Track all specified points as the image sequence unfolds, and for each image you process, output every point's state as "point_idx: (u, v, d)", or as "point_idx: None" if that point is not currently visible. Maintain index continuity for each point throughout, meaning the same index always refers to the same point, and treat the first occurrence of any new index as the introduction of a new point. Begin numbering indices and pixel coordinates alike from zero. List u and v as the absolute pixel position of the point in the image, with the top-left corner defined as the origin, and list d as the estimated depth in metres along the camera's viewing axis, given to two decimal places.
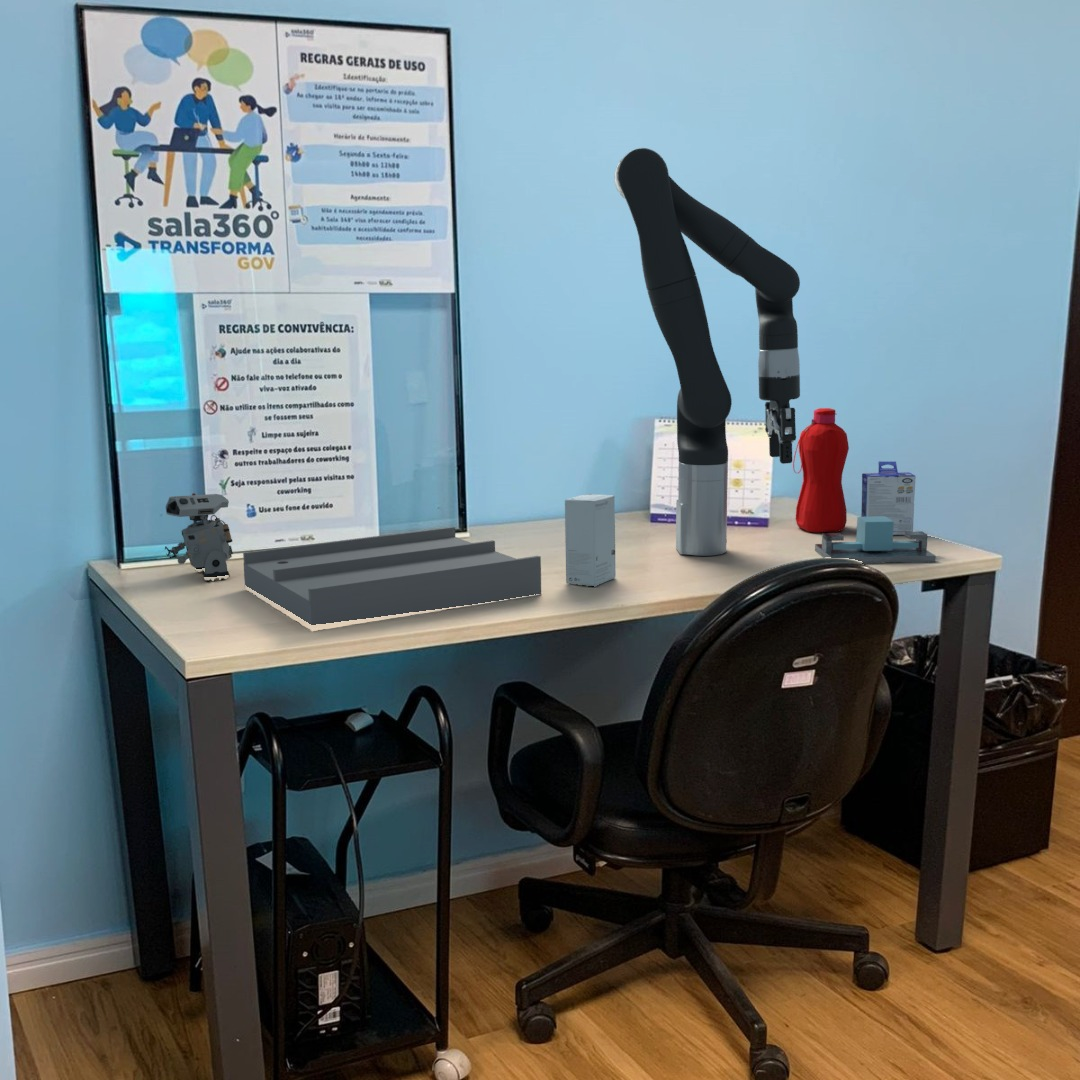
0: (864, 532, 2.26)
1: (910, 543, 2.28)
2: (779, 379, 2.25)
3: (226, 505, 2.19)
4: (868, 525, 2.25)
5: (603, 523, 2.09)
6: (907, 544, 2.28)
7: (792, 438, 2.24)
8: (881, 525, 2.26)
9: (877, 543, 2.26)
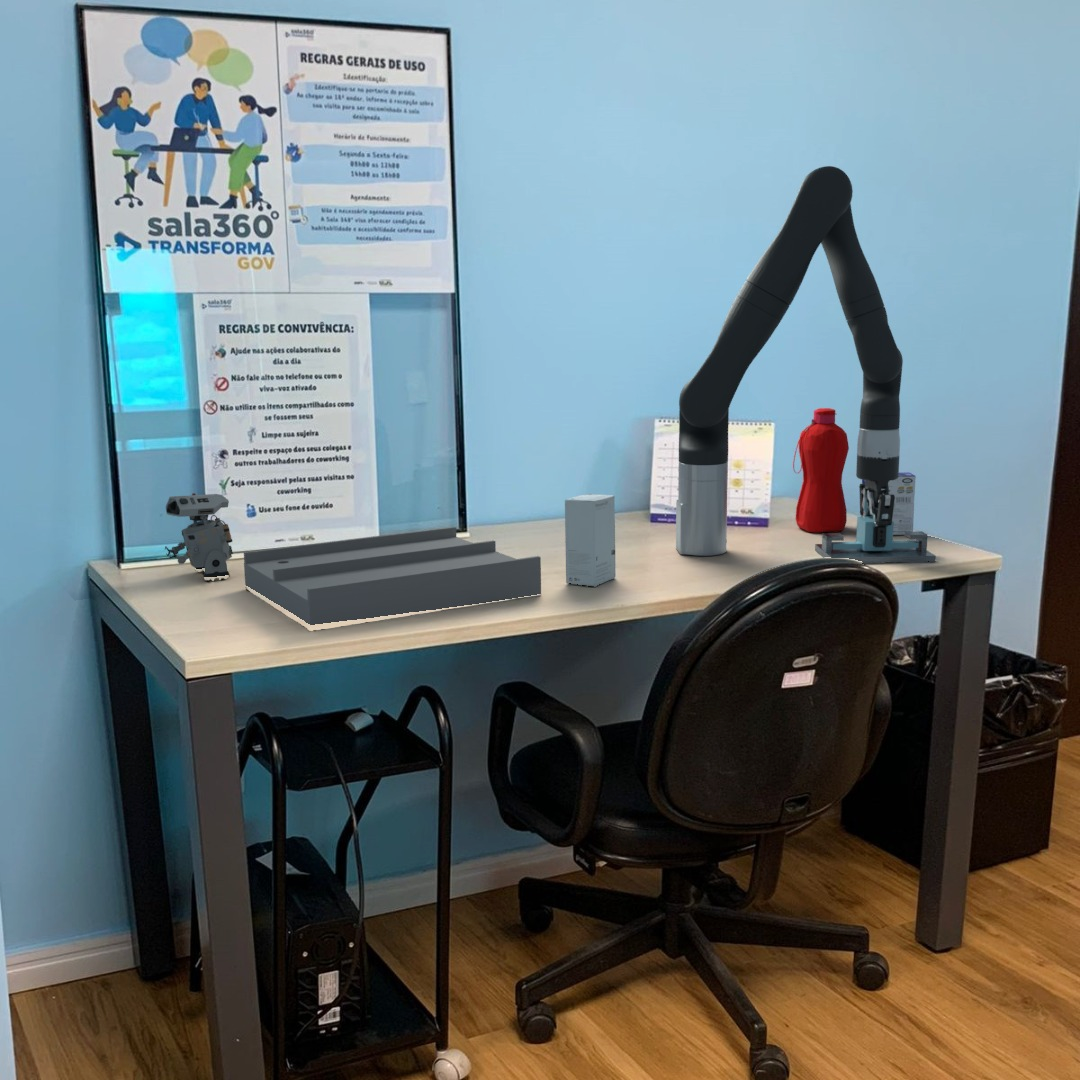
0: (864, 532, 2.26)
1: (910, 543, 2.28)
2: (880, 460, 2.22)
3: (226, 505, 2.19)
4: (868, 525, 2.25)
5: (603, 523, 2.09)
6: (907, 544, 2.28)
7: (888, 524, 2.22)
8: None
9: None
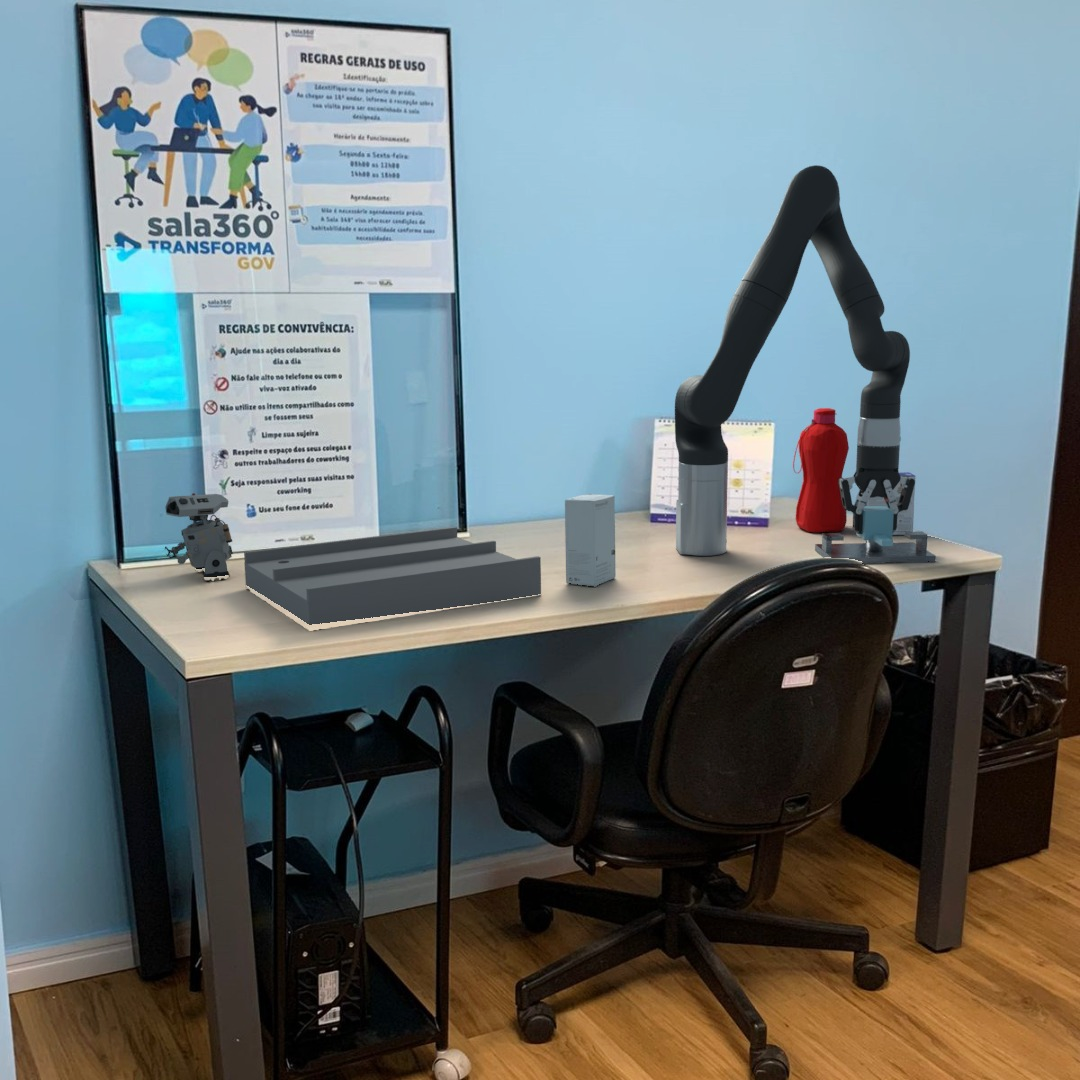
0: None
1: (880, 539, 2.22)
2: (857, 446, 2.26)
3: (226, 505, 2.19)
4: None
5: (603, 523, 2.09)
6: (878, 539, 2.23)
7: (846, 509, 2.27)
8: None
9: None
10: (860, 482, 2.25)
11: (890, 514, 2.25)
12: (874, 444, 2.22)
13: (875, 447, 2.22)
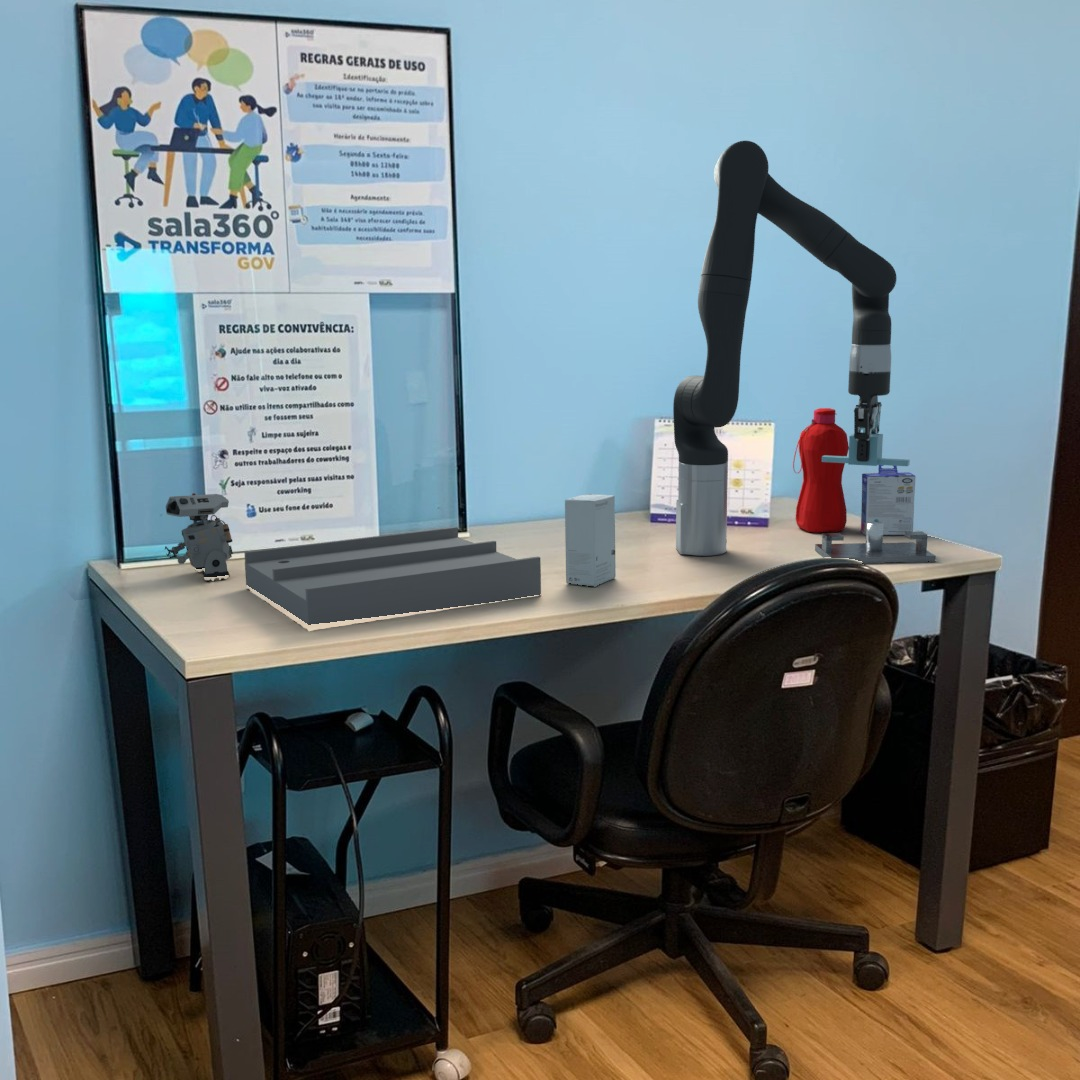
0: (849, 446, 2.31)
1: (899, 461, 2.29)
2: (861, 374, 2.27)
3: (226, 505, 2.19)
4: (852, 439, 2.31)
5: (603, 523, 2.09)
6: (896, 462, 2.30)
7: (864, 437, 2.27)
8: None
9: None
10: (870, 410, 2.28)
11: (882, 437, 2.33)
12: (886, 369, 2.27)
13: (886, 372, 2.27)
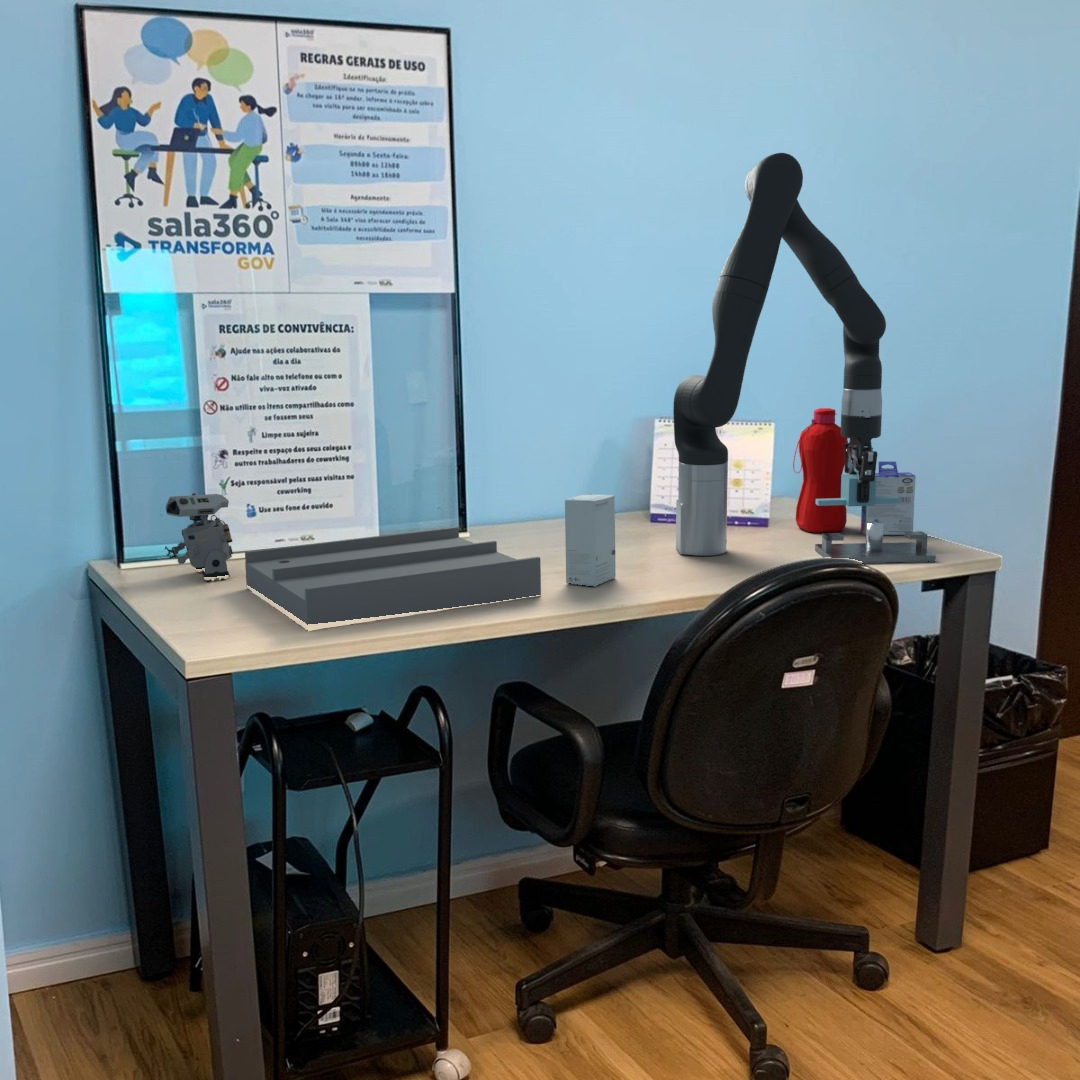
0: (848, 488, 2.36)
1: (892, 499, 2.38)
2: (863, 418, 2.32)
3: (226, 505, 2.19)
4: (851, 481, 2.35)
5: (603, 523, 2.09)
6: (889, 500, 2.38)
7: (871, 480, 2.32)
8: None
9: None
10: None
11: None
12: (881, 412, 2.34)
13: (881, 415, 2.34)
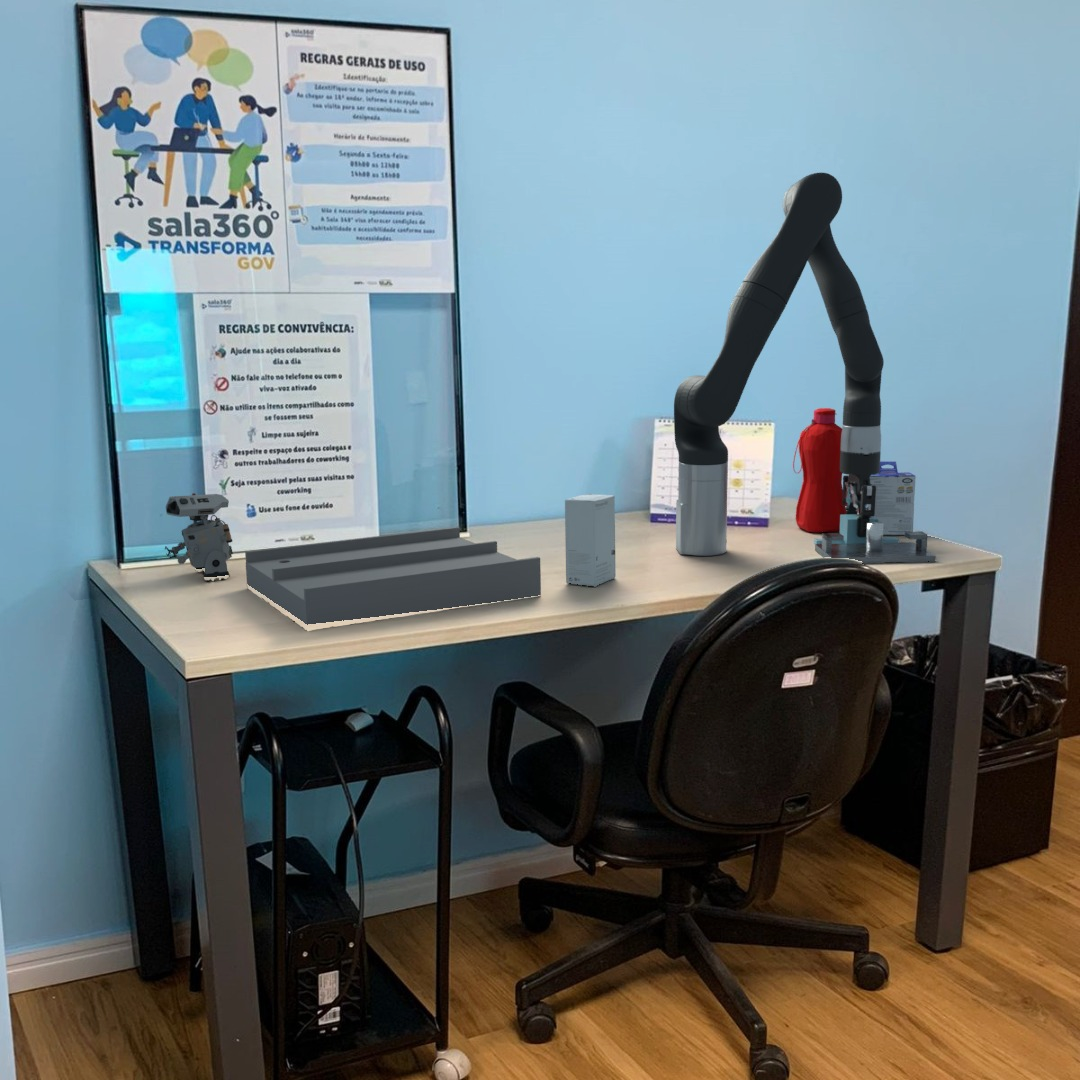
0: (847, 529, 2.37)
1: (890, 540, 2.39)
2: (861, 455, 2.33)
3: (226, 505, 2.19)
4: (850, 522, 2.37)
5: (603, 523, 2.09)
6: (887, 540, 2.39)
7: (871, 514, 2.32)
8: None
9: (859, 540, 2.37)
10: None
11: None
12: (880, 449, 2.35)
13: (880, 452, 2.35)
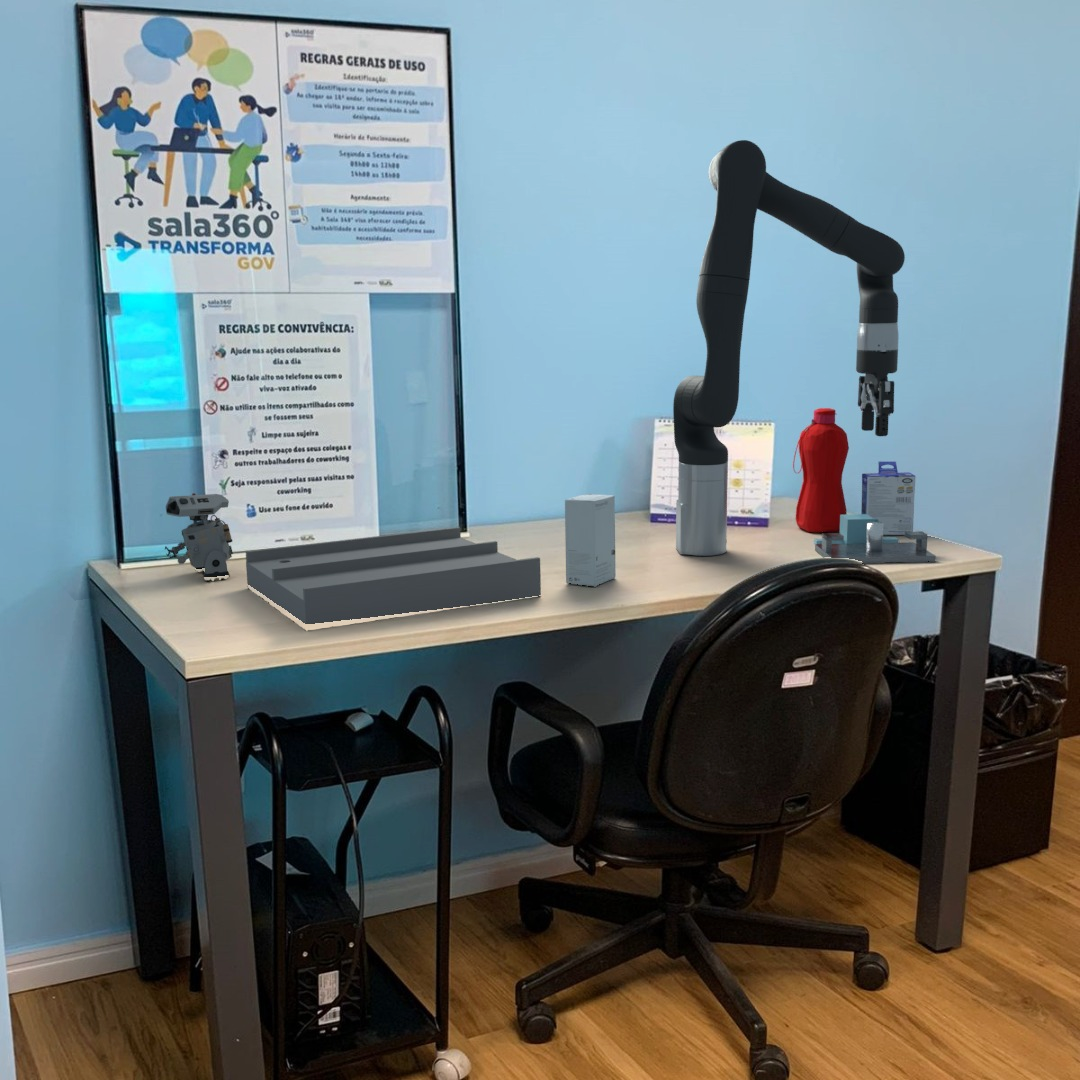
0: (847, 529, 2.37)
1: (890, 540, 2.39)
2: (879, 352, 2.28)
3: (226, 505, 2.19)
4: (850, 522, 2.37)
5: (603, 523, 2.09)
6: (887, 540, 2.39)
7: (890, 411, 2.27)
8: (862, 522, 2.37)
9: (859, 540, 2.37)
10: None
11: None
12: (897, 347, 2.30)
13: (897, 350, 2.31)
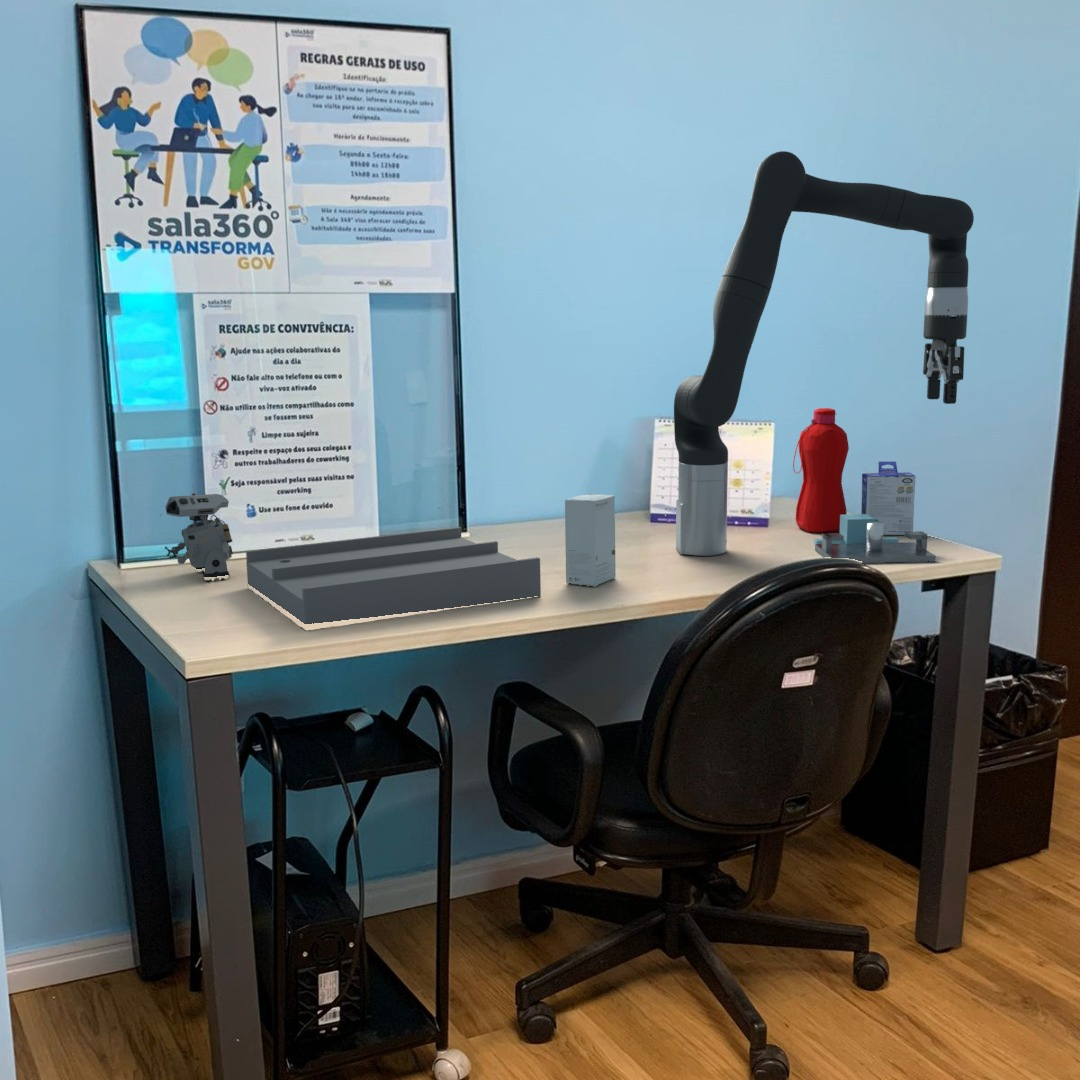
0: (847, 529, 2.37)
1: (890, 540, 2.39)
2: (948, 317, 2.22)
3: (226, 505, 2.19)
4: (850, 522, 2.37)
5: (603, 523, 2.09)
6: (887, 540, 2.39)
7: (959, 377, 2.21)
8: (862, 522, 2.37)
9: (859, 540, 2.37)
10: None
11: None
12: (967, 312, 2.24)
13: None
